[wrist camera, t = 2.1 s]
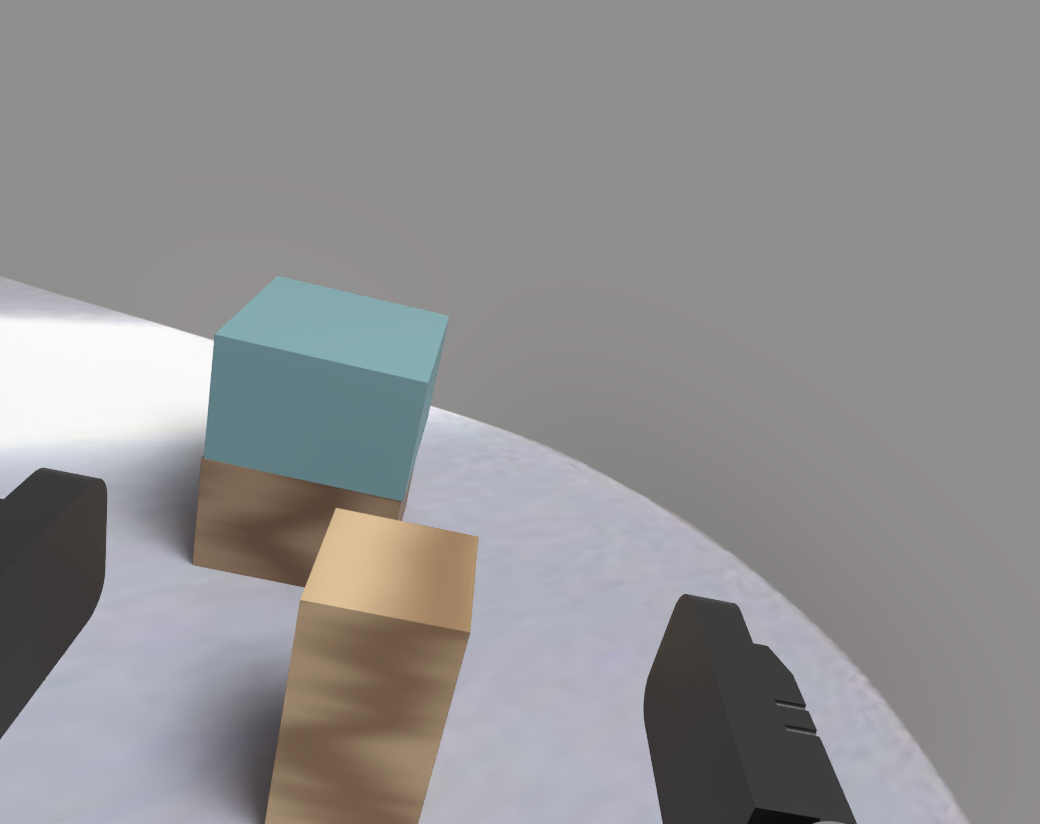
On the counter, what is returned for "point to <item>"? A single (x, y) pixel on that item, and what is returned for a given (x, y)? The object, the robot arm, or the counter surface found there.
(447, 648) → the oak block
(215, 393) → the teal top block
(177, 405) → the counter surface
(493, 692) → the counter surface
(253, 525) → the walnut base block
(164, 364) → the counter surface
